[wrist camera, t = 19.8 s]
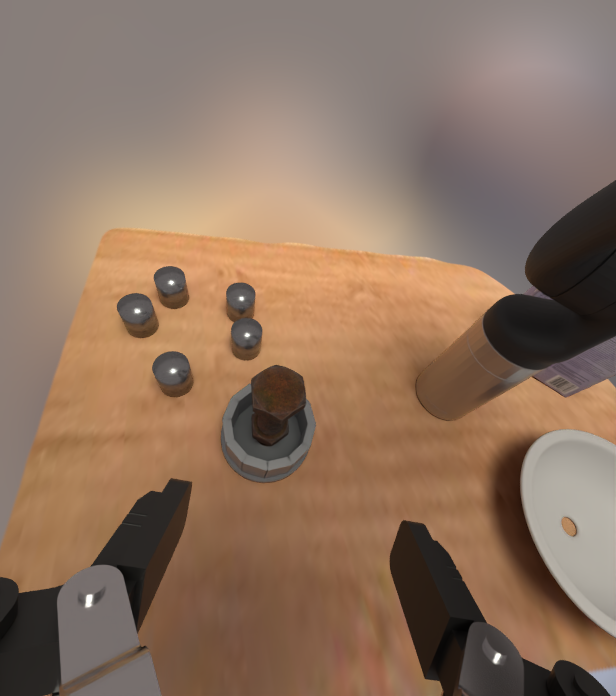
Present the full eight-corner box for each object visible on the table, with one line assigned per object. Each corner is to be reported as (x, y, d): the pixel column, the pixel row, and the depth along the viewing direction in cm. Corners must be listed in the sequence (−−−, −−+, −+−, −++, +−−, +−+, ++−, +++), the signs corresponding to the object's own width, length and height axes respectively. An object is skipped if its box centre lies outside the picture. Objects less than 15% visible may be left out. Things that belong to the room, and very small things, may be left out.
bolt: (259, 464, 41) (269, 428, 28) (238, 432, 42) (238, 384, 30) (295, 438, 44) (318, 394, 31) (273, 409, 45) (288, 356, 33)
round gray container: (270, 380, 48) (274, 360, 43) (326, 439, 45) (337, 425, 40) (202, 432, 43) (197, 417, 38) (261, 504, 39) (265, 498, 34)
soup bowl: (667, 534, 48) (724, 532, 42) (625, 698, 36) (695, 725, 31) (529, 412, 54) (562, 397, 49) (457, 518, 43) (489, 514, 37)
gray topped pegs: (211, 268, 58) (209, 246, 54) (282, 337, 53) (286, 320, 49) (104, 320, 48) (91, 299, 44) (178, 411, 43) (172, 397, 39)
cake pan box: (575, 383, 60) (686, 330, 45) (572, 403, 57) (688, 353, 42) (483, 326, 63) (558, 259, 48) (475, 342, 60) (552, 276, 46)
